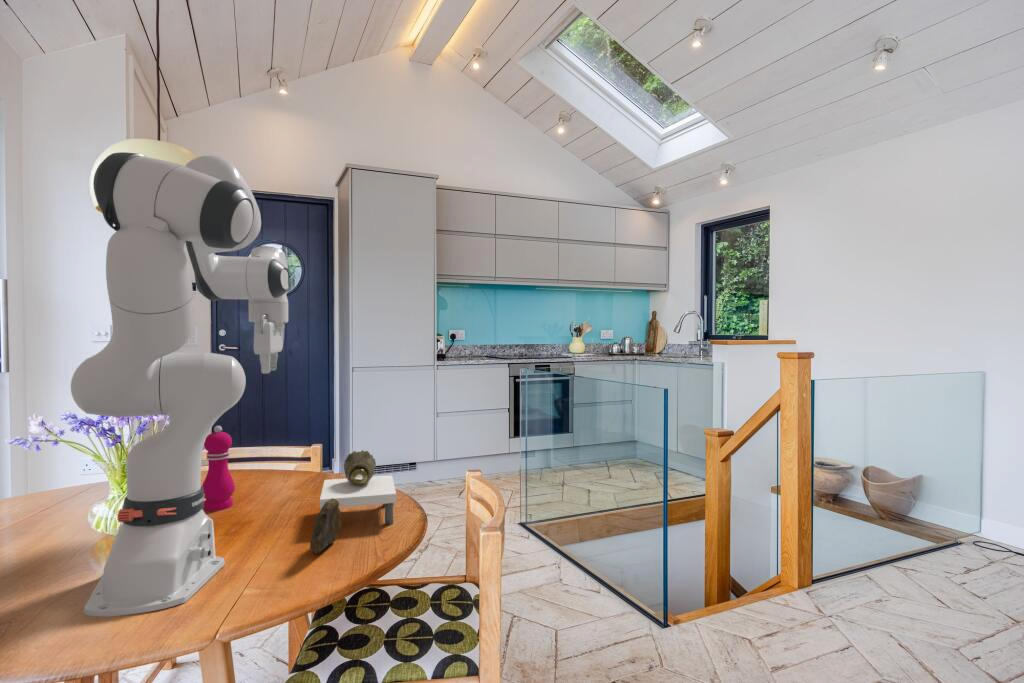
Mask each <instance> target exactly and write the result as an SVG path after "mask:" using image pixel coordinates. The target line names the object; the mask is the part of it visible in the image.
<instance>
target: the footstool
mask: <svg viewBox="0 0 1024 683" xmlns="http://www.w3.org/2000/svg"><path fill="white" fill-rule="evenodd" d="M355 479H360V480H361V479H363V477H355ZM332 498H334V499H336V500H337V501H338V502H339V506H338V508H348V507H360V506H373V505H382V507H384V525H387V526H388V525H389V526H390V525H393V524H394V504H395V503H396V504H397V490H396V486H395V482H394V478H393V475H392V474H391V475H377V476H375V475H374V476H372V478H371V479H370V480H369V481H368V482H367V483H365V484H363V485H354V484H352V483H350V482H349V481H348V479H347V478H346V477H345V478H334V479H333V478H332V479H324V481H323V485H322V490H321V494H320V498H319V509H320V510H321V509H322V507H323V506H324V504H325V502H327V501H328V500H329V499H332Z"/></svg>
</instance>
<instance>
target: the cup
mask: <svg viewBox="0 0 1024 683" xmlns="http://www.w3.org/2000/svg"><path fill="white" fill-rule="evenodd" d="M376 465H377V463H376V459H375V458H374V456H373V454H370V452H369V451H367V450H365V451H364V450H361V451H356V450H354V451H352V452H351V453H349V454H348V455H347V456H346V458H345V459H344V464H343V471H344V476H345V479H346V478H347V479H348V481H349V482H350V483H352V484H354V485H363V484H365V483H367V482H368V481H369V480H370V479H371V478H372V477H374V476H373V475H374V473H375V470H376ZM359 475H360V476H362V477H363V479H361V480H360V479H355V478H357V476H359Z"/></svg>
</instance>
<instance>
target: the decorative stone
mask: <svg viewBox="0 0 1024 683" xmlns="http://www.w3.org/2000/svg"><path fill="white" fill-rule="evenodd" d="M338 506H339V502H338V501H337V500H336V499H334V498H332V499H329V500H328V501H327V502H325V504H324V506H323V507H322V509H320V510H319V513H317V516H316V519H315V522H314V524H313V531H312V533H311V540H310V543H309V544H310V545H309V549H310V550H312V551H313V553H314V554H316V555H318V554H319V553H320V552H322V551H323V550H324V549H325V548H327V547H328V545H330V544H333V543H335V541H336V540H337V538H338V535H339V532H340V530H341V527H342V519H341V518H342V517H341V510H340V507H338Z"/></svg>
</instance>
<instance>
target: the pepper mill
mask: <svg viewBox="0 0 1024 683" xmlns="http://www.w3.org/2000/svg"><path fill="white" fill-rule="evenodd" d="M213 431H214V432H212V433H210V434H209V433H208V435H207V437H206V440H205V443H204V446H203V449H205V450H206V451H207V452H206V460H208V469H207V474H206V476H205V479H204V480H203V482H202V484H201V486H202V487H203V490H204V496H205V499H204V507H203V510H204V511H212V512H214V511H224V510H226V509H230V508H232V507H233V505H234V498H233V497H232V496H233V494H234V492H235V490H236V485H235V480H234V478H233V477H232V474H231V472H230V470H229V463H228V461H229V458H230V456H231V455H230V453H231V452H230V450H229V449H230V448H231V447H232V444H233V440H232V437H231V435H230V434H229V433H227V432H224V431H223V428H222V426H221V425H216V426H214V427H213Z"/></svg>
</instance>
